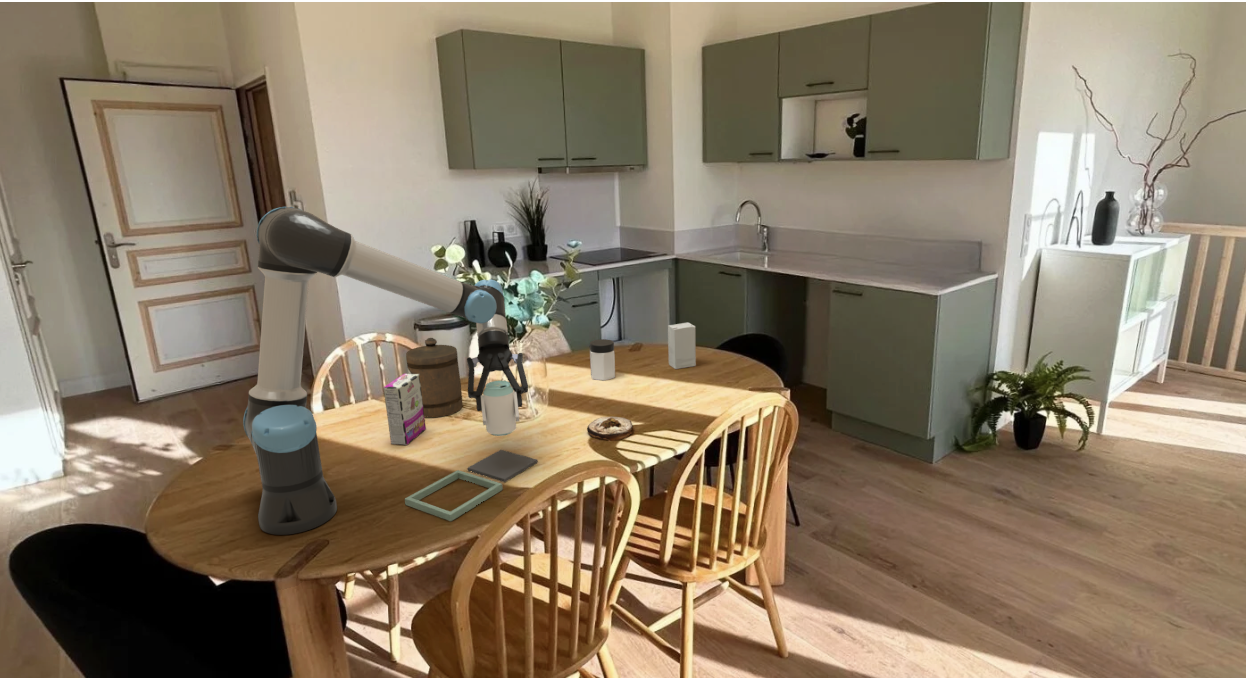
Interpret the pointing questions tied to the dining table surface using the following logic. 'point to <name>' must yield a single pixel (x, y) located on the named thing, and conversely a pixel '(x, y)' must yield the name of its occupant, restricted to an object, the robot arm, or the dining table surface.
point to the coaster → (502, 465)
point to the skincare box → (681, 345)
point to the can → (499, 408)
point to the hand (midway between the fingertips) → (501, 420)
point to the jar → (602, 359)
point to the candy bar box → (404, 409)
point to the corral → (450, 516)
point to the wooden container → (437, 377)
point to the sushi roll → (610, 428)
